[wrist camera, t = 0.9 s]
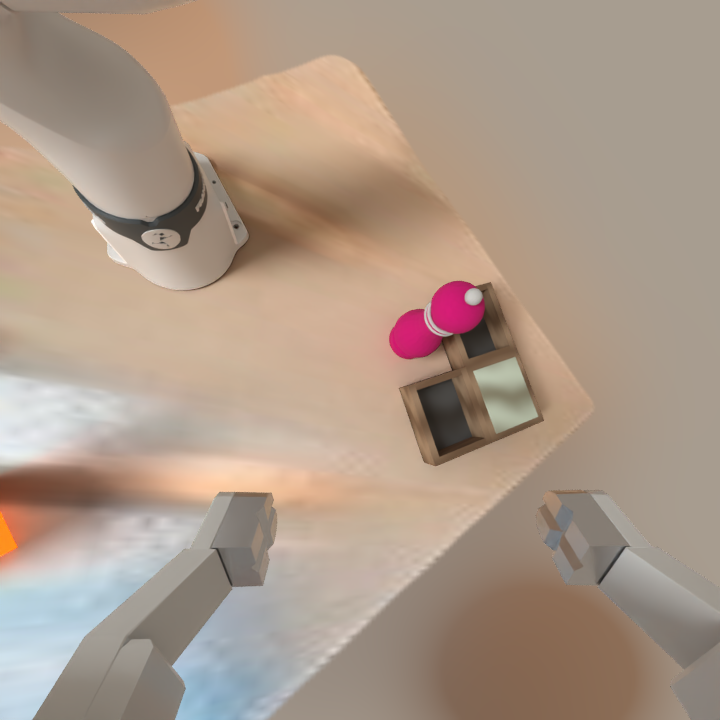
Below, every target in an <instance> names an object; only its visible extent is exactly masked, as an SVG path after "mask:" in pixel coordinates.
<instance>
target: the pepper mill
mask: <svg viewBox="0 0 720 720" xmlns="http://www.w3.org/2000/svg"><path fill="white" fill-rule="evenodd" d="M484 311H485V302H484V298H483V295H482V292H481V291H480V290H479V289H477V288H476V287H475V286H474V285H472V284H471V283H468V282H464V281H453V282H450V283H447V284H445V285H443V286H442V287H441V288H439V289H438V291H437V292H436V293H435V294H434V296H433V298H432V301H430V302H429V303H428V305H427V306H426V308H425V310H424V309H416V310H411V311H409V312H407V313H405V314H404V315H402V316H401V317H400V318H399V319H398V321H397V323H396V325H395V327H394V328H393V329H392V331H391V333H390V337H389V341H390V345H391V348H392V350H393V351H394V352H395V353H396V354H397V355H398V356H400V357H402V358H405V359H413V358H416V357H425V356H427V355H429V354H431V353H432V352H434V351H435V350H436V349H437V348H438V346H439V345H440V343H441V341H442V338H443V337H446V336H450V335H453V334H461V333H465V332H468V331H470V330H472V329H473V328H474V327H476V326H477V325H478V324H479V322H480V321H481V319H482V317H483V315H484Z"/></svg>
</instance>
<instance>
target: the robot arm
mask: <svg viewBox="0 0 720 720" xmlns="http://www.w3.org/2000/svg"><path fill="white" fill-rule="evenodd" d="M193 1H196V0H0V121H1V122H2V123H4V124H5V125H7V126H8V127H10V128H11V129H12V130H14V131H15V132H16V133H17V134H19V135H20V136H21V137H22V138H24V139H25V140H26V141H27V142H29V143H30V144H31V145H32V146H33V147H34V148H35V149H36V150H37V151H38V152H39V153H40V154H41V155H43V156H44V157H45V158H46V159H47V160H48V161H49V162H50V163H51V164H52V165H53V166H54V167H55V168H56V169H57V170H58V171H59V172H60V173H61V174H62V175H63V176H64V177H65V178H66V179H67V180H68V181H69V182H70V183H71V184H72V185H73V187H74V190H75V191H76V193H77V195H78V196H79V197H80V199H81V200H82V202H83V203H84V204H85V206H86V207H87V208H88V209H89V210H90V212H91V213H92V214H93V220H92V221H91V222H92V224H93V226H94V228H95V229H96V230H97V231H98V232H99V233H100V234H101V236H102V237H103V238H104V239H105V240H106V241H107V253H108V256H109V257H110V258H111V259H112V260H113V261H114V262H116V263H118V264H120V265H123V266H126V267H129V268H132V269H134V270H136V271H137V272H138V273H140V274H141V275H142V276H143V277H145V278H146V279H147V280H149V281H150V282H152V283H154V284H156V285H159V286H161V287H164V288H168V289H174V290H191V289H197V288H200V287H204V286H206V285H208V284H210V283H212V282H214V281H216V280H217V279H218V278H220V277H221V276H222V275H223V274H224V273H225V272H226V271H227V269H228V268H229V266H230V264H231V262H232V260H233V258H234V255H235V253H236V251H237V250H238V249H239V248H240V247H241V246H243V245H244V244H245V243H246V241H247V240H248V238H249V234H248V232H247V229H246V227H245V226H244V224H243V222H242V220H241V218H240V216H239V215H238V213H237V211H236V209H235V207H234V205H233V203H232V202H231V200H230V198H229V196H228V194H227V192H226V190H225V189H224V187H223V185H222V183H221V181H220V179H219V178H218V176H217V174H216V172H215V170H214V168H213V166H212V165H211V163H210V161H209V159H208V158H207V157H206V156H205V155H202V154H200V153H197V152H193V151H192V149H191V147H190V145H189V144H188V143H186V142H185V141H183V139H182V136H181V133H180V131H179V128H178V126H177V123H176V121H175V118H174V116H173V113H172V111H171V108H170V106H169V103H168V101H167V99H166V96H165V95H164V93H163V91H162V90H161V88H160V86H159V85H158V84H157V82H156V81H155V80H154V79H153V77H152V76H151V75H150V74H149V73H148V72H147V71H146V69H144V68H143V66H141V64H140V63H139V62H138V61H137V60H136V59H135V58H133V57H132V56H131V55H130V54H129V53H127V51H126V50H124V49H123V48H121V47H120V46H119V45H117V44H116V43H114V42H113V41H111V40H109V39H107V38H105V37H104V36H102V35H100V34H98V33H96V32H94V31H92V30H90V29H88V28H86V27H84V26H82V25H80V24H78V23H76V22H74V21H72V20H70V19H68V18H66V17H65V16H63V15H61V14H59V13H58V12H64V13H65V12H66V13H112V14H114V13H115V14H148V13H152V12H156V11H160V10H164V9H168V8H172V7H176V6H180V5H183V4H187V3H190V2H193ZM234 227H239V228H238V229H235V228H234ZM543 500H544V502H545V504H544V505H543V506H541V507H540V508H539V509H538V511H537V514H536V525H537V528H538V531H539V534H540V536H541V538H542V540H543V542H544V543H545V544H546V545H547V546H549V547H550V548H551V549H552V550H553V558H552V559H553V561H554V562H555V565H556V567H557V568H558V570H559V572H560V574H561V576H562V578H563V579H564V582H565V583H566V585H599V586H598V588H599V589H600V590H601V591H602V592H603V593H604V594H605V595H607V597H609V598H610V599H611V600H612V601H613V602H614V603H615V604H616V605H617V606H618V607H619V608H620V609H621V610H622V611H623V612H624V613H625V614H626V615H627V616H629V617H630V618H631V619H632V620H633V621H634V622H635V623H636V624H637V625H638V626H639V627H640V628H641V629H642V630H643V631H644V632H645V633H646V634H647V635H648V636H649V637H651V638H652V639H653V640H654V641H655V642H656V643H657V644H658V645H659V646H660V647H661V648H662V649H663V650H664V651H665V652H666V653H667V654H668V655H669V656H670V657H672V658H673V659H674V660H675V661H676V662H677V663H678V664H679V665H680V666H681V667H682V668H683V669H684V670H683V671H682V672H681V673H679V674H678V675H677V676H676V677H674V678H673V679H672V680H671V686H670V687H671V689H672V690H673V692H674V693H675V695H676V697H677V698H678V700H679V702H680V703H681V705H682V706H683V708H684V709H685V711H686V713H687V714H688V716H689V718H690V719H691V720H720V587H718V586H717V585H715V584H714V583H712V582H711V581H709V580H708V579H706V578H705V577H703V576H702V575H700V574H699V573H697V572H695V571H694V570H692V569H691V568H689V567H688V566H686V565H685V564H683V563H682V562H680V561H679V560H677V559H676V558H674V557H672V556H671V555H669V554H668V553H666V552H665V551H663V550H662V549H660V548H659V547H652V546H651V545H650V544H649V543H648V542H647V541H646V539H645V538H644V537H643V535H642V534H641V533H640V532H639V531H638V529H637V528H636V527H635V526H634V525H633V524H632V522H631V521H630V520H629V519H628V517H627V516H626V515H625V514H624V513H623V511H622V510H621V509H620V508H619V507H618V505H617V504H616V503H615V502H614V501H613V500H612V498H611V497H610V496H609V495H608V494H607V493H605V492H604V491H602V490H584V491H582V490H553V491H548V492H546V493H545V494H544V497H543ZM273 501H274V499H273V496H272V493H256V492H219V493H218V494H217V496H216V497H215V498H214V500H213V502H212V504H211V506H210V508H209V510H208V512H207V514H206V517H205V519H204V521H203V523H202V525H201V527H200V529H199V531H198V533H197V535H196V537H195V539H194V541H193V543H192V545H191V547H190V549H184V550H183V551H182V552H180V553H179V554H178V555H177V556H176V557H175V558H174V559H172V560H171V561H170V562H169V563H168V564H167V565H166V566H165V567H163V568H162V569H161V570H160V571H159V572H158V573H157V574H155V575H154V576H153V577H152V578H151V579H150V580H149V581H147V582H146V583H145V584H144V585H143V586H142V587H141V588H140V589H138V590H137V591H136V592H135V593H134V594H133V595H132V596H130V597H129V598H128V599H127V600H126V601H125V602H124V603H122V604H121V605H120V606H119V607H118V608H117V609H116V610H115V611H113V612H112V613H111V614H110V615H109V616H108V617H107V618H105V619H104V620H103V621H102V622H101V623H100V624H99V625H97V626H96V627H95V628H94V629H93V630H92V631H91V632H90V633H88V634H87V635H86V636H85V637H84V639H83V640H82V642H81V643H80V645H79V647H78V648H77V650H76V651H75V653H74V654H73V656H72V658H71V659H70V661H69V662H68V664H67V666H66V667H65V669H64V670H63V672H62V674H61V675H60V677H59V678H58V680H57V682H56V683H55V685H54V686H53V688H52V690H51V691H50V693H49V694H48V696H47V698H46V699H45V701H44V702H43V704H42V705H41V707H40V709H39V710H38V712H37V713H36V715H35V717H34V718H33V720H175V718H176V715H177V712H178V709H179V706H180V703H181V700H182V697H183V694H184V691H185V689H186V688H185V685H184V681H183V680H182V679H181V677H180V676H179V675H178V674H177V672H176V671H175V670H174V669H173V667H172V665H173V664H174V663H175V661H176V660H177V659H178V657H179V656H180V655H181V654H182V652H183V651H184V650H185V649H186V647H187V646H188V645H189V643H190V642H191V641H192V640H193V638H194V637H195V636H196V635H197V633H198V632H199V631H200V629H201V628H202V627H203V626H204V624H205V623H206V622H207V620H208V619H209V618H210V617H211V615H212V614H213V613H214V612H215V610H216V609H217V608H218V606H219V605H220V604H221V603H222V601H223V600H224V599H225V598H226V596H227V595H228V594H229V592H230V591H231V590H232V587H243V586H263V584H264V580H265V576H266V572H267V568H268V564H269V556H268V552H267V550H268V549H269V548H270V547H271V546H272V545H273V544H274V540H275V535H276V529H277V513H276V510H275V509H274V508H273V507H272V504H273Z"/></svg>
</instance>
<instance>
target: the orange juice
mask: <svg viewBox="0 0 720 720" xmlns="http://www.w3.org/2000/svg"><path fill="white" fill-rule="evenodd" d="M15 548H17V545H16V543H15V541H14V539H13V537H12V535H11V533H10V531H9V529H8V527H7V524H6V522H5V520H4V518H3V516H2V514H1V512H0V557H1V556H3V555H5V554H6V553H8V552H10V551H12V550H14V549H15Z"/></svg>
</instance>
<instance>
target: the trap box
mask: <svg viewBox="0 0 720 720" xmlns="http://www.w3.org/2000/svg"><path fill="white" fill-rule="evenodd" d="M475 287H476V288H477V289H479V290H480V291H481V292H482V295H483V298H484V302H485V311H484V315H483V317H482V319H481V321H480V322H479V324H478V325H477V326H476V327H474V328H473V329H472V330H470V331H468V332H465V333H461V334H453V335H450V336H446V337H443V338H442V343H443V346H444V348H445V351H446V354H447V357H448V360H449V362H450V365H451V368H452V371H450V372H447V373H444V374H441V375H438V376H435V377H432V378H429V379H426V380H423V381H420V382H417V383H414V384H411V385H408V386H404V387H401V388H399V389H400V392H401V395H402V398H403V401H404V404H405V407H406V410H407V413H408V416H409V419H410V422H411V425H412V428H413V431H414V434H415V437H416V440H417V443H418V446H419V449H420V452H421V455H422V458H423V461H424V462H425V463H428V464H430V465H433V466H438V465H440V464H443V463H445V462H447V461H450V460H452V459H454V458H457V457H459V456H462V455H464V454H466V453H469V452H471V451H473V450H476V449H478V448H481V447H483V446H485V445H488V444H490V443H492V442H495V441H497V440H499V439H502V438H504V437H507V436H509V435H511V434H514V433H516V432H518V431H521V430H523V429H526V428H528V427H530V426H533V425H535V424H537V423H540V422H542V421H544V419H543V417H542V414H541V411H540V409H539V406H538V404H537V401H536V398H535V396H534V393H533V391H532V388H531V385H530V383H529V380H528V378H527V375H526V373H525V370H524V367H523V365H522V362H521V360H520V357H519V354H518V352H517V349H516V347H515V344H514V341H513V339H512V336H511V334H510V331H509V328H508V326H507V323H506V321H505V318H504V315H503V313H502V310H501V308H500V305H499V302H498V300H497V297H496V295H495V292H494V289H493V287H492V284H491V282H490V283H486V284H482V285H478V286H475Z"/></svg>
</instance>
